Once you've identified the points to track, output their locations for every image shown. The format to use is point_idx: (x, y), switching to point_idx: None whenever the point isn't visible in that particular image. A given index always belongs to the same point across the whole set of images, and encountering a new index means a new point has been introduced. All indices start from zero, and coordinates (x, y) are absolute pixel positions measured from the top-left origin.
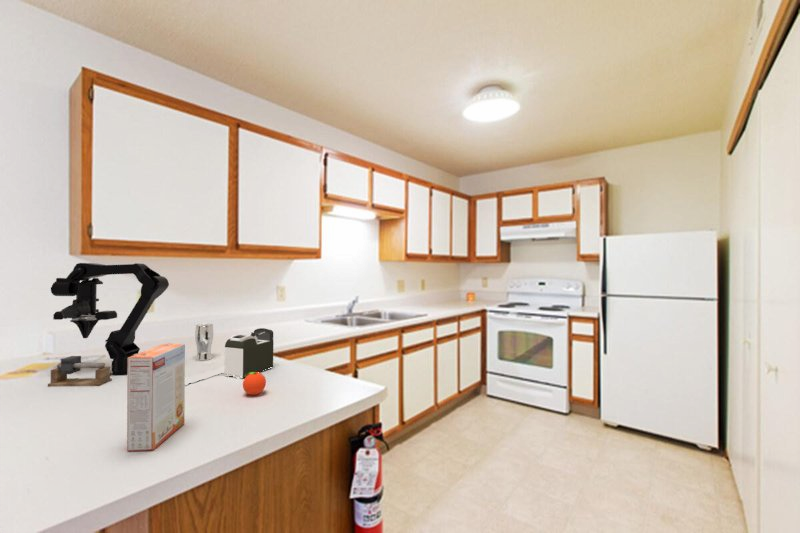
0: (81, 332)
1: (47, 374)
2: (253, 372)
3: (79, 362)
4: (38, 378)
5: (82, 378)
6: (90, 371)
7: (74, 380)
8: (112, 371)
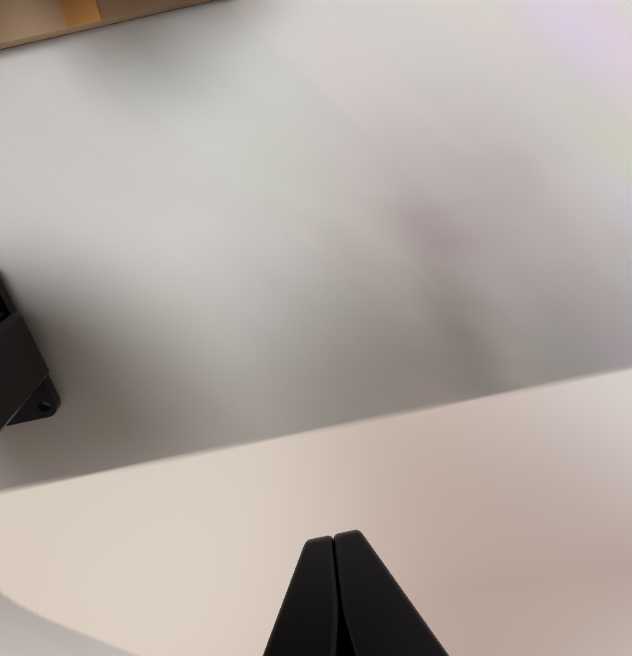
0: (415, 653)
1: (596, 173)
2: None
3: None
4: (569, 32)
5: (20, 30)
6: (297, 328)
7: None
8: (6, 313)
